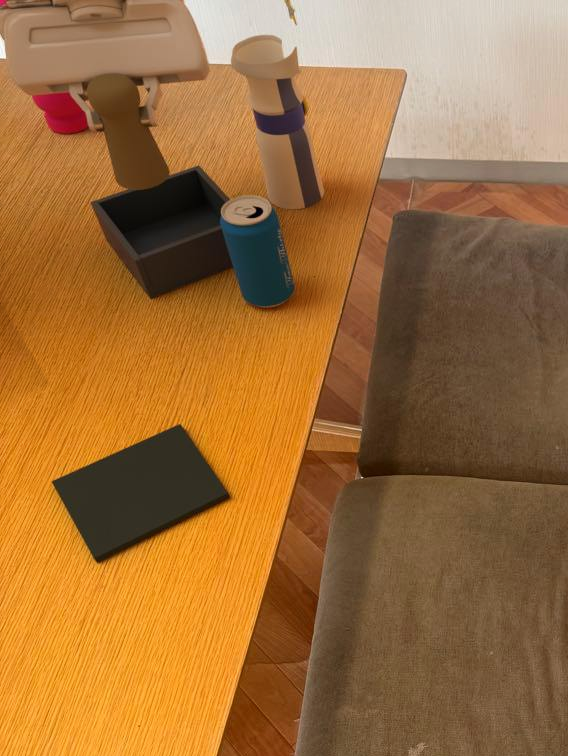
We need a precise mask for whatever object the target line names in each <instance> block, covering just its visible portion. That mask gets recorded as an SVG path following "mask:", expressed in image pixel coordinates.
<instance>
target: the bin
mask: <svg viewBox="0 0 568 756" xmlns="http://www.w3.org/2000/svg"><path fill="white" fill-rule="evenodd" d="M229 200H231V199H230V197H229V196H228V195H227V194H226V193H225V192H224V191H223V190H222V189H221V188H220V186H219V185H218V184H217V183H216V182H215V181H214V180H213V179H212V178H211V176H210V175H208V173H207V172H206V171H205V170H204V169H203V168H202V166H200V165H199V164H198V165H194V166H193V167H190V168H187V169H184V170H181V171H178V172H175V173H172V174H169V176H168V178H167V179H166V180H165V181H164V182H163V183H161V184H159V185H158V186H155V187H152V188H149V189H143V190H131V189H125V190H122V191H119V192H116V193H112V194H110V195H108V196H104V197H100V198H99V199H95V200H93V201H90V206H91V207H92V210H93V212H94V215H95V217H96V219H97V221H98V224H99V226H100V229H101V231H102V234H103V235H104V238H105V240H106V242H107V243H108V244H109V246H110V247H111V249H112V250H113V252H115V254H116V255H117V256H118V258H119V259H120V260H121V262H122V263H123V264H124V266H125V268H127V270H128V271H129V273H130V274H131V275H132V277H133V278H134V279H135V280H136V282H137V283H138V285H139V286H140V287H141V289H142V290H143V291H144V292H145V294H146V295H147V297H148V298H149V299H150V300H152V299H154V298H156V297H159V296H161V295H164V294H167V293H170V292H171V291H174V290H177V289H180V288H182V287H185V286H187V285H190V284H193V283H195V282H197V281H201V280H203V279H205V278H207V277H211V276H213V275H215V274H216V275H217V274H218V273H220V272H224V271H226V270H228V269H231V268H234V267H233V264H232V261H231V258H230V254H229V251H228V248H227V245H226V241H225V238H224V235H223V232H222V228H221V225H220V219H221V209H222V207H223V205H224V204H225V203H226V202H228V201H229Z"/></svg>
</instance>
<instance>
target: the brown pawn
mask: <svg viewBox="0 0 568 756" xmlns="http://www.w3.org/2000/svg"><path fill="white" fill-rule="evenodd" d="M87 95H88V102H89V105H90V106H91V108H92V109H93V111H96V112H97V113H98V114H99V115H100V117H101V121H102V123H103V126H104V132H103V133H104V137H105V141H106V145H107V151H108V153H109V158H110V162H111V166H112V171H113V175H114V179H115V182H116V183H117V184H118V186H119V187H122V188H123V189H125V190H128V189H131V190H143V189H149V188H152V187H155V186H158V185H159V184H161V183H163V182H164V181H165V180H166V179H167V178H168V176H169V175H170V173H171V172H170V168H169V166H168V164H167V161H166V160H165V158H164V155H163V154H162V152H161V149H160V147H159V146H158V143H157V141H156V140H155V137H154V136H153V135H154V134H153V133H152V131H151V129H150V127H145V126H144V125H142V124H141V121H140V116H141V115H140V114H139V110H138V108H139V107H140V105H141V94H140V91H139V87H138V86H136V84H135V83H134V82H133V81H132V80H131V79H130V78H129V77H128V76H126V75H123V74H119V73H108V74H102V75H99V76H97V77H95V78H94V79H92V80H91V81H90V82H89V84H88V87H87Z"/></svg>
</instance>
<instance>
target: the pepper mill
mask: <svg viewBox="0 0 568 756" xmlns="http://www.w3.org/2000/svg"><path fill="white" fill-rule="evenodd" d="M5 3H7V0H0V6H2V5H3V4H5ZM6 9H9V7H8V8H6ZM31 98H32V101H33V103H34V104H35V106H36V107H38V108H39V109H40V110H41V111H42V112H44V119H45V121H46V124H47V127H48V128H49V129H50V130H51V131H52V132H55V133H57V134H60V135H61V134H63V135H68V134H69V135H70V134H74V133H79V132H81V131H85V130H86V129H88V128H89V126H88V121H87V117H86V113H85V112H84V111H83V110H82V108H81V107H80V106H79V105H78V104H77V102H76V101H75V100H74V99H73V98H72V96H71V95H70V92H66V93H54V94H43V95H31ZM84 102H85V103H86V101H85V100H84Z"/></svg>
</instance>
